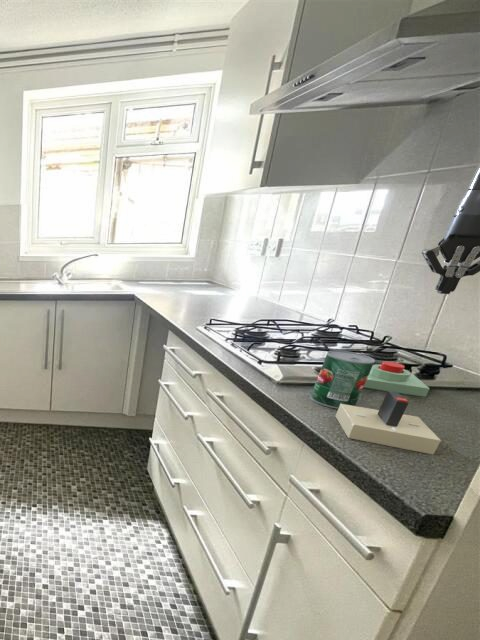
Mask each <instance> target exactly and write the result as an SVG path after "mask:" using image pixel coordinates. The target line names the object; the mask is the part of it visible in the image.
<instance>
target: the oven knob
mask: <svg viewBox="0 0 480 640" xmlns="http://www.w3.org/2000/svg"><path fill="white" fill-rule="evenodd" d="M408 405H409V401H408V400H407V398H404V397H403V395H401V393H397V392H390V391H386V394H385V396H384V399H383V400H382V403H381V405H380V407H379V409H378V410H379V411H378V415H379V417H380V418H381V419H382V420H383V421H384V423H385V424H386V425H390V426H396V427H397V426H398V424H399V422H400V420H401V418H402V416H403V414H404V415H405V411H406V410H407V408H408Z"/></svg>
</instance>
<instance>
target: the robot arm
mask: <svg viewBox="0 0 480 640" xmlns="http://www.w3.org/2000/svg"><path fill="white" fill-rule="evenodd" d="M421 254H422V256H423V258H424V261H426V264H427V265H428V267H429V269H430V271H431V272H432V273H433V274H434V273H435V274H437V275H439V279H438V282H437V283H436V286H435V290H436V293H437V294H440V295H450V294H451V293H453V292H454V291H455V290H456V289H457V286H458V284H459V283H460V281H461V279H462V278H464V277H469V276H472V277H473V276H474V275H476V274H478V273H480V259H479V258H480V163H479V164H478V166H477V168H476V170H475V172H474V174H473V175H472V178H471V180H470V182H469V184H468V187H467V190H466V191H465V193H464V195H463V196H462V198H461V199H460V201H459V202H458V205H457V207H456V210H455V212H454V213H453V216H452V218H451V221H450V223H449V225H448V227H447V229H446V232H445V234H444V236H443V238H442V239H441V240H440V241H438V243H437V245H436V246H433V247H430V248H428V249H426V248H425V249H423V250H422V251H421ZM440 254H441V256H442V258H443V259H444V260H443V262H442V264H441V262H440V261H439V259H438V256H439V255H440ZM478 259H479V260H478ZM475 260H478V261H476V262H474V261H475ZM473 262H474V263H473ZM472 263H473V264H472Z"/></svg>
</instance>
